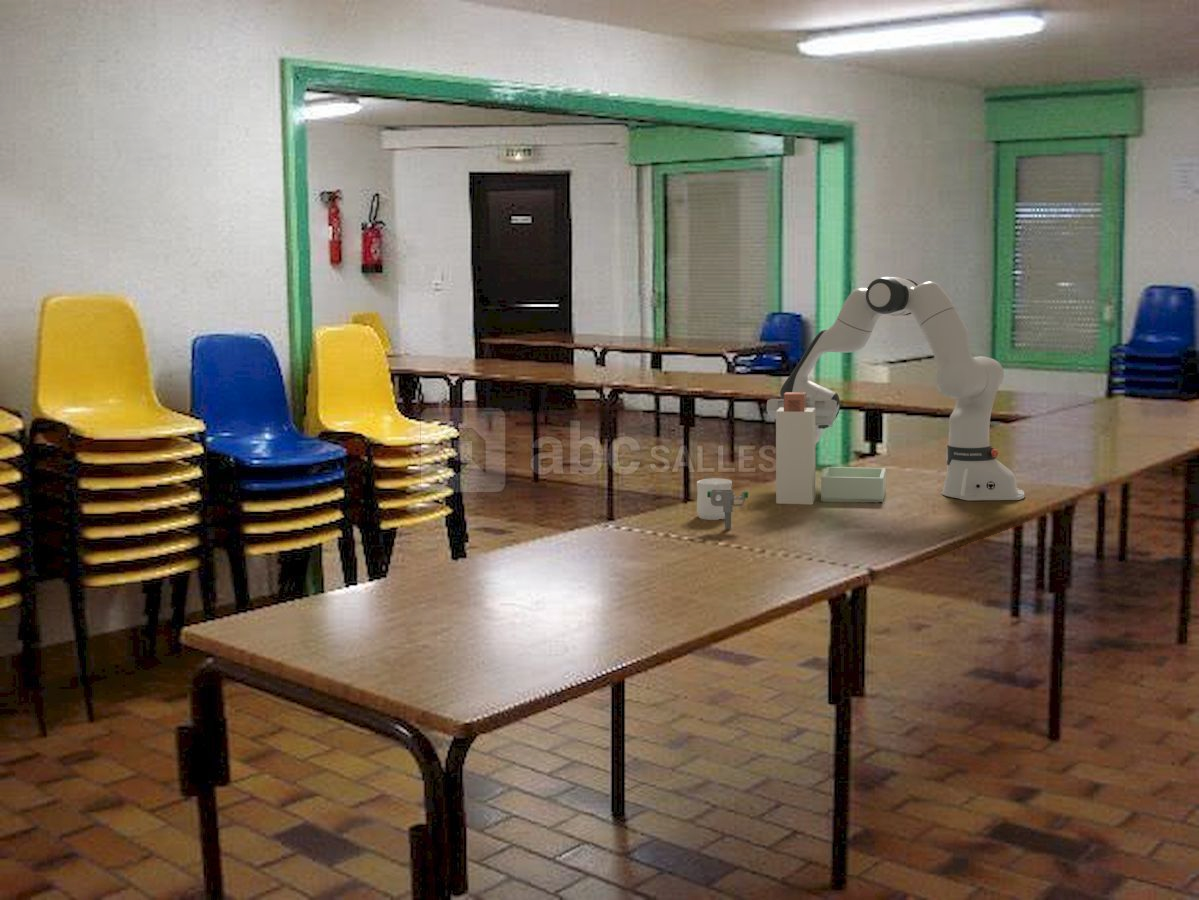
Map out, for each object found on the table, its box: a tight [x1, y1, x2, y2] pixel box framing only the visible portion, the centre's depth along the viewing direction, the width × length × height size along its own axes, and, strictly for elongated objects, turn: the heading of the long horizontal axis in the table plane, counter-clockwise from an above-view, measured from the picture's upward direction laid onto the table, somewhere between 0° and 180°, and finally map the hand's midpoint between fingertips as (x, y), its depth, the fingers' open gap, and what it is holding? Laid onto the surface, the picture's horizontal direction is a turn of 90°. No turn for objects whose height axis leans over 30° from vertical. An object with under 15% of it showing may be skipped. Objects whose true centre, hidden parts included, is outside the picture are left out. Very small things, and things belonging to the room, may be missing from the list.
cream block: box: [775, 407, 816, 505], centre depth 371 cm, size 10×9×26 cm
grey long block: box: [784, 392, 806, 412], centre depth 373 cm, size 6×18×5 cm, turn 165°
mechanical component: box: [707, 489, 749, 530], centre depth 338 cm, size 3×10×10 cm, turn 79°
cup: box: [696, 477, 733, 521], centre depth 354 cm, size 10×10×10 cm
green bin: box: [820, 466, 887, 503], centre depth 377 cm, size 17×17×7 cm
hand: (799, 398), depth 378 cm, fingers closed on grey long block, 3 cm apart
